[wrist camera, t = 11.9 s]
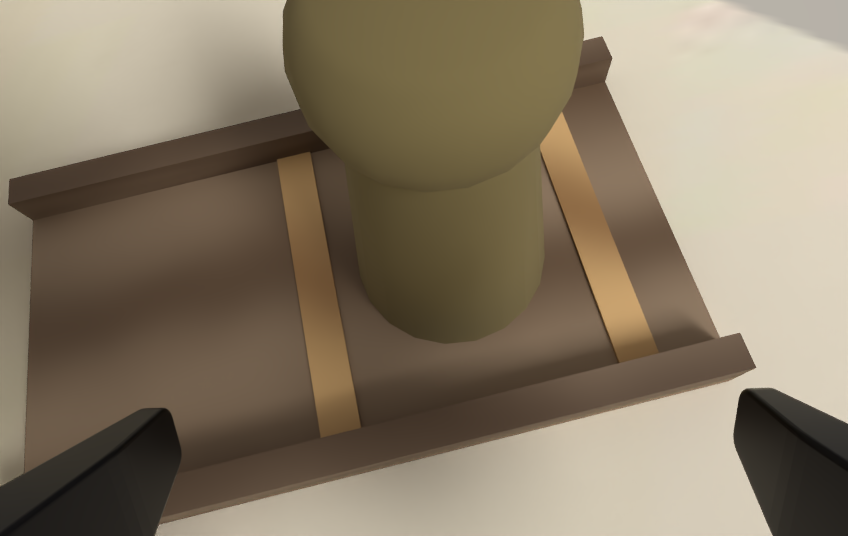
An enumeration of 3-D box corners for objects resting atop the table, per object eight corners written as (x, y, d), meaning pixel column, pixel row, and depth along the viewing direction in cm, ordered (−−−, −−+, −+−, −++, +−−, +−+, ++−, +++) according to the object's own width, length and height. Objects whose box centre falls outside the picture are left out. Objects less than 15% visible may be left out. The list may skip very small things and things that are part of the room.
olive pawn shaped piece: (476, 143, 20) (479, -215, 10) (583, 277, 18) (724, -9, 8) (326, 230, 20) (167, -66, 9) (420, 381, 17) (345, 209, 7)
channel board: (728, 380, 17) (755, 367, 16) (35, 555, 17) (-13, 561, 15) (592, 72, 22) (602, 36, 20) (45, 204, 22) (9, 179, 20)
